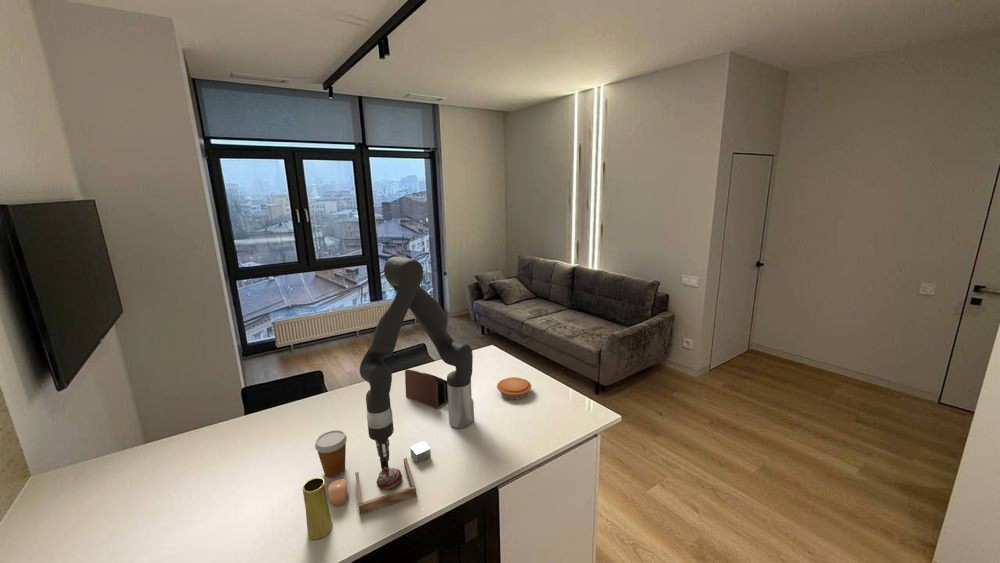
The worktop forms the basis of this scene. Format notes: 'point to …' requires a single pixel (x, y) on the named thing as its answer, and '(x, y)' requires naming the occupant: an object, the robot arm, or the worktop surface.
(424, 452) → the gray block
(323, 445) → the disposable coffee cup
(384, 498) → the display bay
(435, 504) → the worktop surface
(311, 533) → the vase
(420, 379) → the letter holder
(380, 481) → the pastry
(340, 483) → the peach rounded blob
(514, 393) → the pie
